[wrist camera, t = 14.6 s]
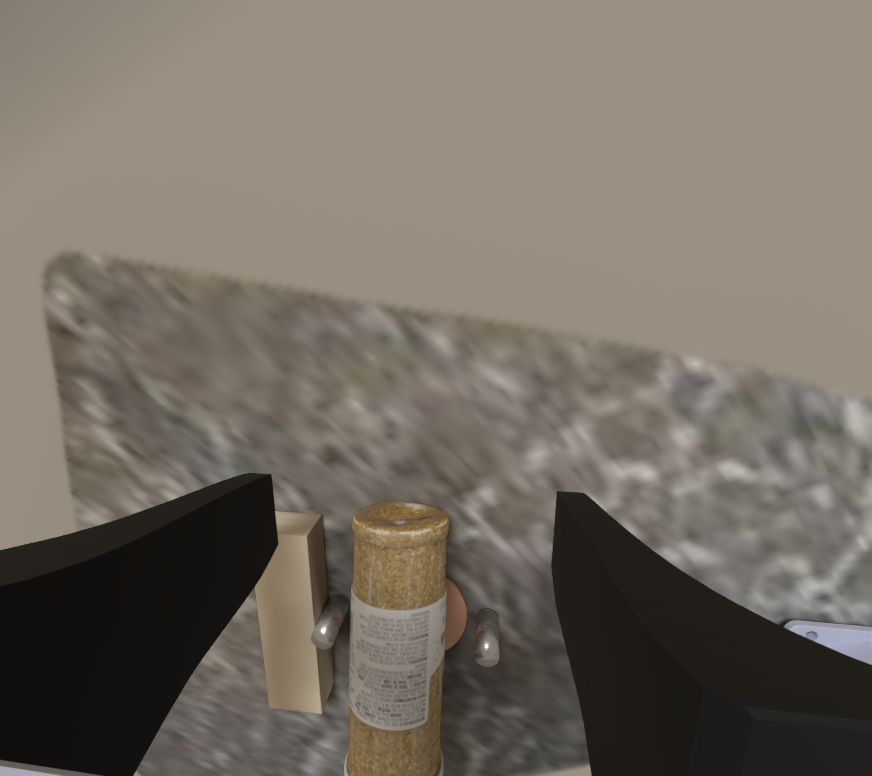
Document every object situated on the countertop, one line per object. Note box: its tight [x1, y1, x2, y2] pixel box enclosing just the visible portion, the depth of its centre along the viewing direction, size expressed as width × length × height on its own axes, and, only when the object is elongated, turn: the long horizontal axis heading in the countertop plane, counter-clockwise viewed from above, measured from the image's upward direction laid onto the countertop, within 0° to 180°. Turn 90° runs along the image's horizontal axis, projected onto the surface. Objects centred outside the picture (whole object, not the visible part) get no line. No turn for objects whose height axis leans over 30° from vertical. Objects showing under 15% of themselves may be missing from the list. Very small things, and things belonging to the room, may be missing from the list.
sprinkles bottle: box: [344, 501, 450, 776], centre depth 21 cm, size 5×5×13 cm
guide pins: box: [311, 595, 499, 667], centre depth 24 cm, size 9×5×2 cm, turn 90°
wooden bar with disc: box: [255, 511, 467, 714], centre depth 24 cm, size 11×11×2 cm
